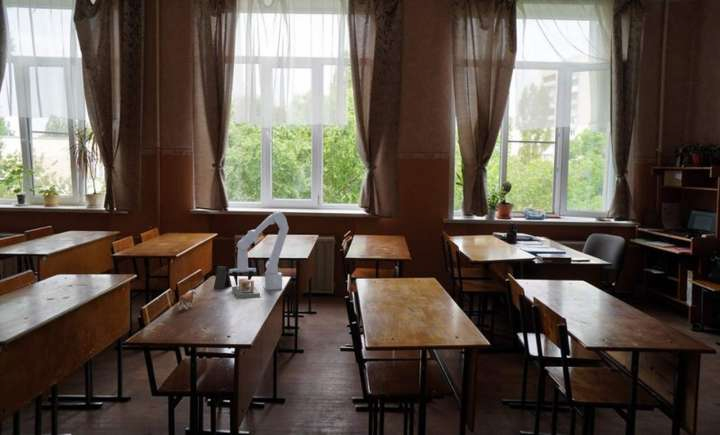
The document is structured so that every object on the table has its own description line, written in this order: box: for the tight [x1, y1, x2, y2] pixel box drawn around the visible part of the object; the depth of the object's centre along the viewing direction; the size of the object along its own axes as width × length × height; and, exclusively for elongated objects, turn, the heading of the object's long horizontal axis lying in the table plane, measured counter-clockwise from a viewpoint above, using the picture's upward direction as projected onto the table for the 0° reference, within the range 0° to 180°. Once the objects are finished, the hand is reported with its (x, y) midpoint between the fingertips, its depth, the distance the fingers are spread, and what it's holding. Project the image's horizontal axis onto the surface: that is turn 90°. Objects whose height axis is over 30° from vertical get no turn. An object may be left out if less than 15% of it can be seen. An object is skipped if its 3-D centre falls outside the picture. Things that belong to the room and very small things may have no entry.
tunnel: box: [238, 279, 255, 291], centre depth 315 cm, size 8×3×5 cm, turn 110°
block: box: [238, 277, 250, 290], centre depth 323 cm, size 4×10×4 cm, turn 20°
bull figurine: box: [178, 289, 198, 311], centre depth 284 cm, size 4×13×8 cm, turn 164°
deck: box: [231, 285, 261, 299], centre depth 317 cm, size 12×20×2 cm, turn 20°
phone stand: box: [213, 265, 233, 290], centre depth 331 cm, size 9×6×12 cm, turn 156°
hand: (242, 284), depth 327 cm, fingers open, 6 cm apart
